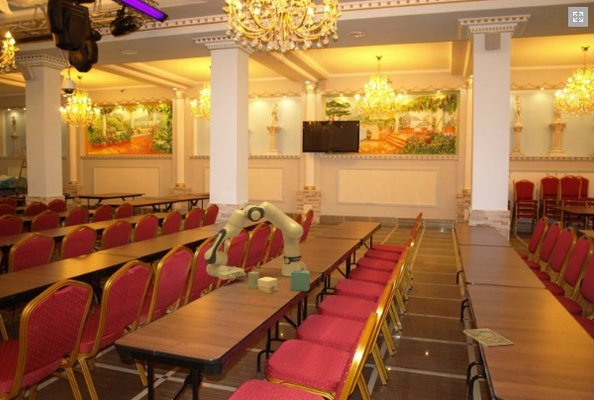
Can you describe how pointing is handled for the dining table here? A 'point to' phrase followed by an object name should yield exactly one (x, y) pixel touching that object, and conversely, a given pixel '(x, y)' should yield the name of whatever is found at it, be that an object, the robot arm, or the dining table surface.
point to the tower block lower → (268, 289)
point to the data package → (300, 280)
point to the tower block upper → (267, 282)
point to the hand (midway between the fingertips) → (240, 275)
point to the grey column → (253, 280)
